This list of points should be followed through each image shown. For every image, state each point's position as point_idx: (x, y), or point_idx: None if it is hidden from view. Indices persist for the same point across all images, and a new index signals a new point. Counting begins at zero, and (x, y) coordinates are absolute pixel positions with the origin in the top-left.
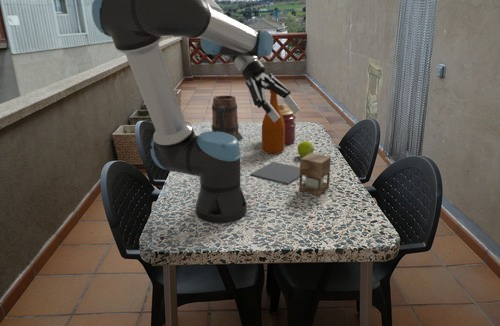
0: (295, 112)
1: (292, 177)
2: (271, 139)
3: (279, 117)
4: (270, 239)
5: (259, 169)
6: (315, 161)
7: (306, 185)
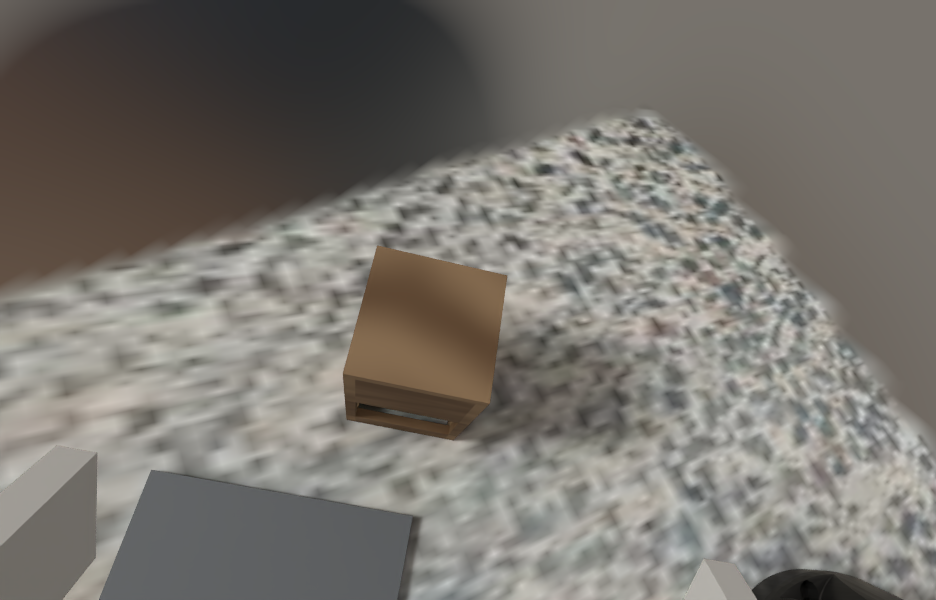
0: (91, 536)
1: (320, 524)
2: None
3: (716, 566)
4: (848, 406)
5: None
6: (496, 308)
7: None
